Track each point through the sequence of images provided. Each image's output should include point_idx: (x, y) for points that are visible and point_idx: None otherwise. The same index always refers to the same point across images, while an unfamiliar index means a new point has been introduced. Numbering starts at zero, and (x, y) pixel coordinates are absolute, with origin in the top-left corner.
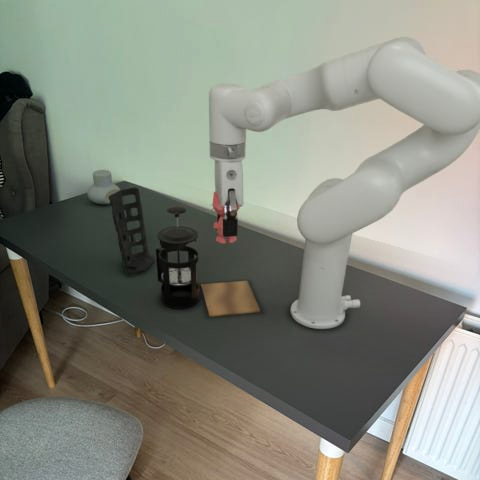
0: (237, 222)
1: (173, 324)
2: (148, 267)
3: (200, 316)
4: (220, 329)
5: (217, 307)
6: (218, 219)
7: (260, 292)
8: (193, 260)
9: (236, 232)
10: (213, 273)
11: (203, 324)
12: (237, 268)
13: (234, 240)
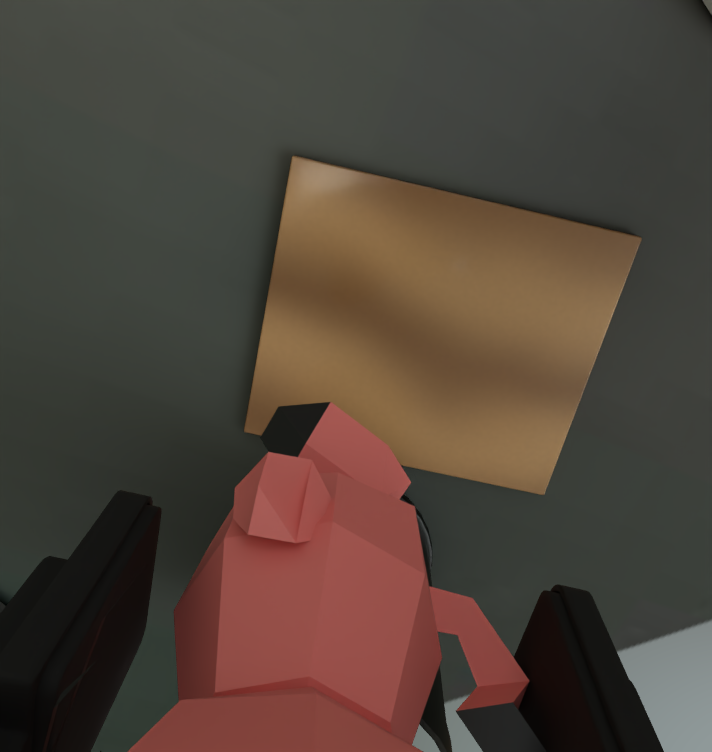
0: (657, 749)
1: (522, 633)
2: (3, 605)
3: (518, 522)
4: (663, 482)
5: (501, 438)
6: (125, 673)
7: (441, 128)
8: (439, 736)
9: (593, 624)
10: (124, 312)
11: (586, 532)
12: (95, 137)
13: (388, 458)
